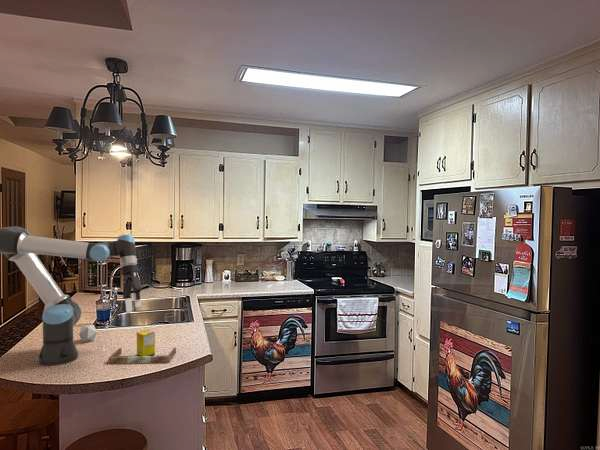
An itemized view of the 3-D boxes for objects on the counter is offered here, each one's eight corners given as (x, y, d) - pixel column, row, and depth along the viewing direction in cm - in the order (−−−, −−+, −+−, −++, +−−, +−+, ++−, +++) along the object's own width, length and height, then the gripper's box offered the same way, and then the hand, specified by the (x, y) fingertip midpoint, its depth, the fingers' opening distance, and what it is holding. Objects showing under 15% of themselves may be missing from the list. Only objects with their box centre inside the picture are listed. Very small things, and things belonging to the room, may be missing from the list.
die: (98, 338, 215) (87, 324, 215) (103, 333, 209) (92, 318, 209) (83, 348, 208) (72, 333, 209) (88, 343, 203) (77, 327, 203)
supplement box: (148, 352, 192) (148, 329, 192) (155, 355, 188) (155, 331, 188) (136, 355, 188) (136, 332, 187) (143, 358, 184) (143, 334, 184)
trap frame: (108, 363, 178) (108, 357, 178) (119, 353, 190) (119, 348, 190) (169, 362, 179) (169, 356, 179) (176, 352, 192) (176, 347, 192)
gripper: (145, 259, 193) (150, 303, 188) (129, 271, 211) (133, 312, 206) (129, 260, 188) (134, 305, 183) (113, 272, 206) (117, 314, 201)
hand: (133, 309), depth 194 cm, fingers open, 13 cm apart
